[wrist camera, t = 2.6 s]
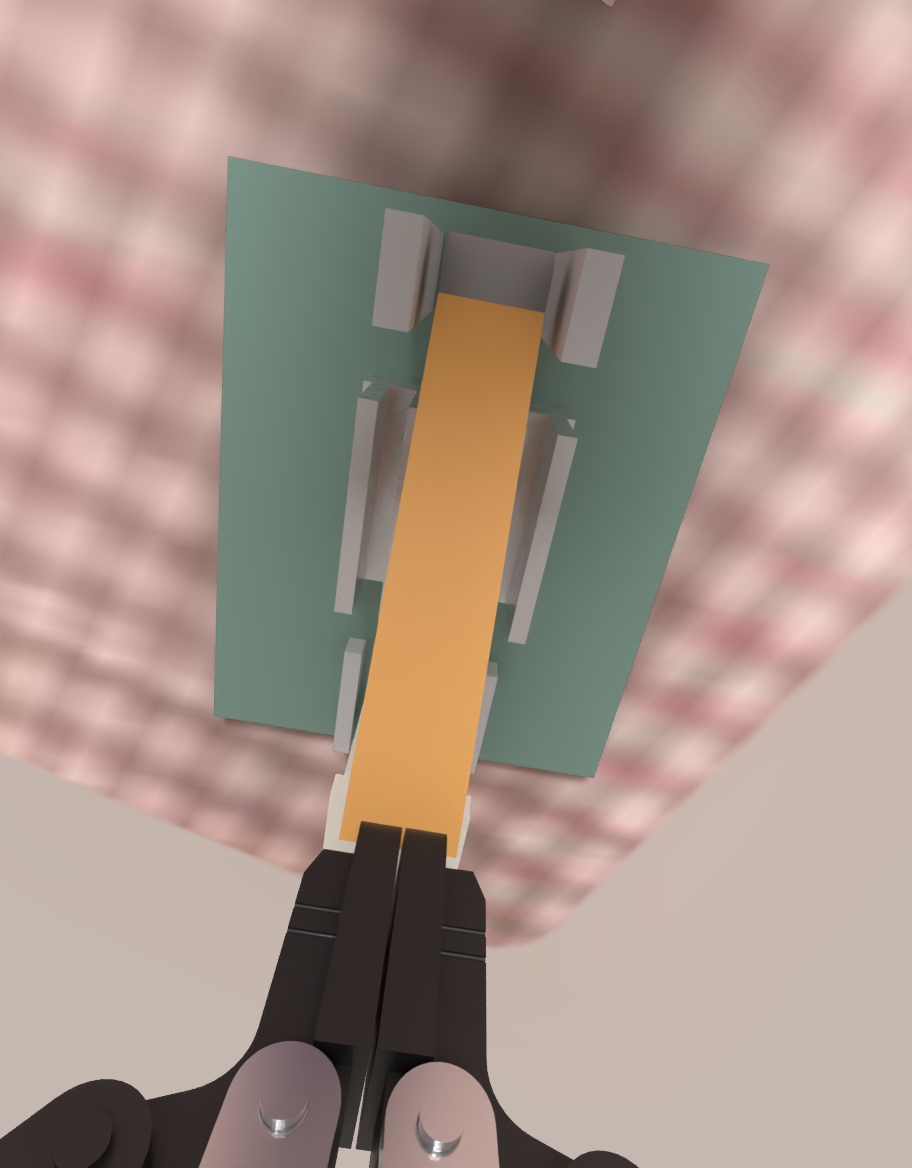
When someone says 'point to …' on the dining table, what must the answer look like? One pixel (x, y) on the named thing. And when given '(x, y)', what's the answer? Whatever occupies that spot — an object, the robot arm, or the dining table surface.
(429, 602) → the orange bar
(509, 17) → the dining table surface
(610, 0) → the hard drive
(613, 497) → the board
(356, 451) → the heatsink
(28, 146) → the dining table surface
